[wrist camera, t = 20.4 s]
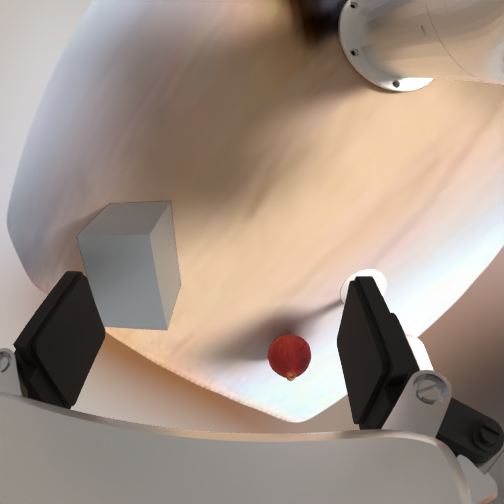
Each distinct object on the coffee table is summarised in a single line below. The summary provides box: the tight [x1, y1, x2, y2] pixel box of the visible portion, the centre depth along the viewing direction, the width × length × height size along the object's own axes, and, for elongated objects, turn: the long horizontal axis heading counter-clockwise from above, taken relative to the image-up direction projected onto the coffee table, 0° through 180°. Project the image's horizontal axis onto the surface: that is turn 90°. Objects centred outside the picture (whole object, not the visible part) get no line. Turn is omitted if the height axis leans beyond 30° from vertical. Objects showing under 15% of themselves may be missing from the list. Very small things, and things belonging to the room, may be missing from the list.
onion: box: [268, 335, 311, 381], centre depth 42 cm, size 6×6×8 cm
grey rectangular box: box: [77, 201, 181, 330], centre depth 34 cm, size 11×8×9 cm
